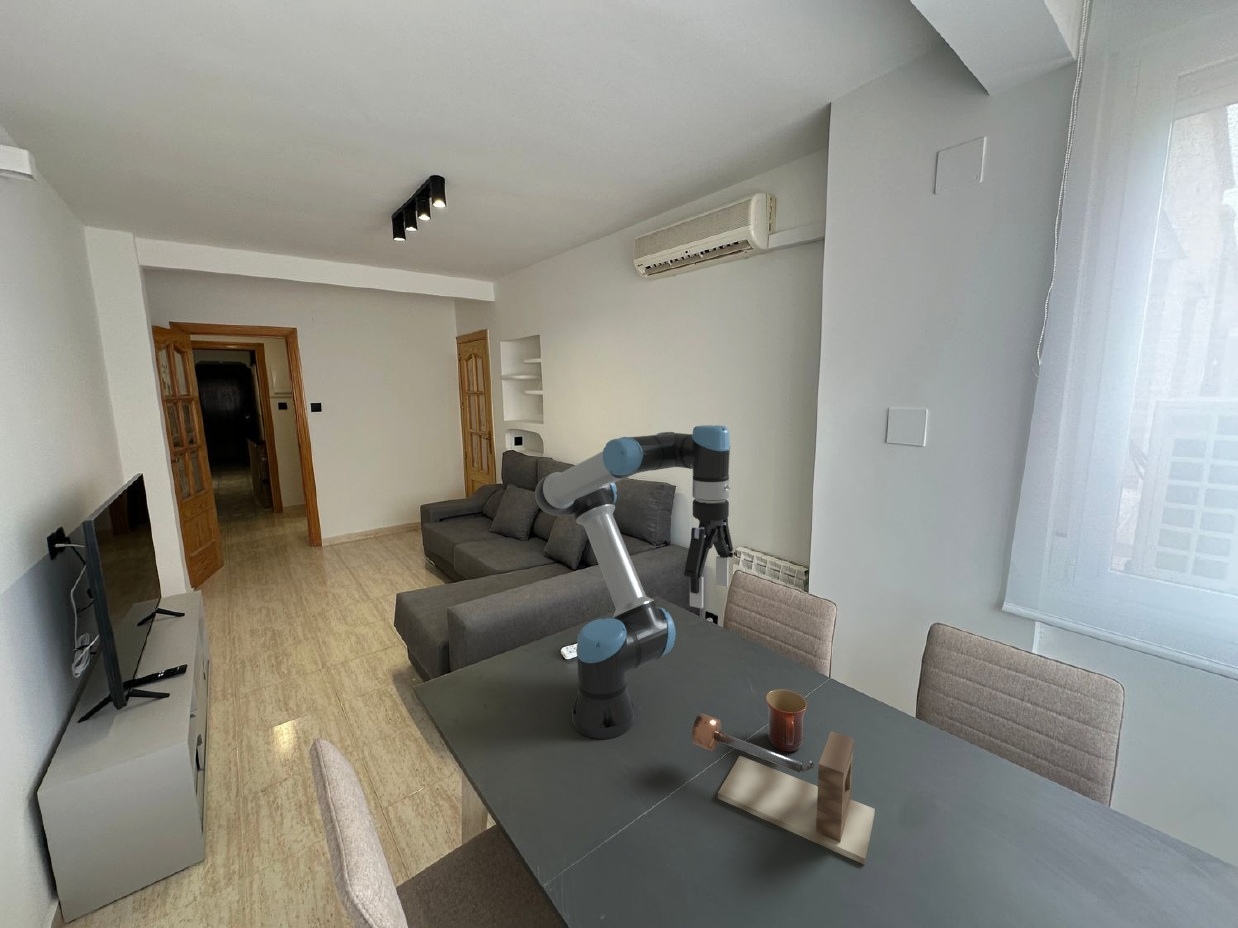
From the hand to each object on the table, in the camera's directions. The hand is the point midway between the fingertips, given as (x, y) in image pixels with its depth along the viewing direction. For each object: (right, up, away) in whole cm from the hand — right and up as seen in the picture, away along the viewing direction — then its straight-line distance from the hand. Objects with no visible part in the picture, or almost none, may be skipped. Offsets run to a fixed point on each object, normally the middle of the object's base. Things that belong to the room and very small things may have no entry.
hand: (709, 595), depth 110 cm
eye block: (+20, -36, -17) cm, 44 cm away
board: (+14, -37, -13) cm, 41 cm away
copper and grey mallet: (+6, -31, -9) cm, 33 cm away
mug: (+17, -35, +3) cm, 39 cm away
